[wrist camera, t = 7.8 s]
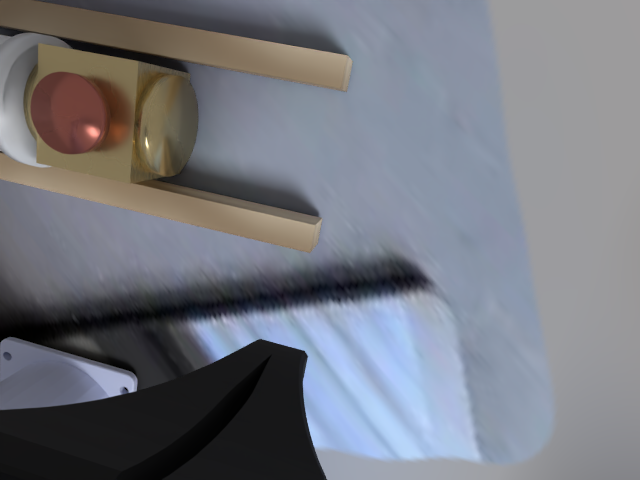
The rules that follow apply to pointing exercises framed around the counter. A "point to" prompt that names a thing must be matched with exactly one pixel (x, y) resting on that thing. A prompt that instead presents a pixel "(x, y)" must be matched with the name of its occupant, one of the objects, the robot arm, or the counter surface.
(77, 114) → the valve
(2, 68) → the coupling
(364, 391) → the counter surface
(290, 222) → the guide rails
